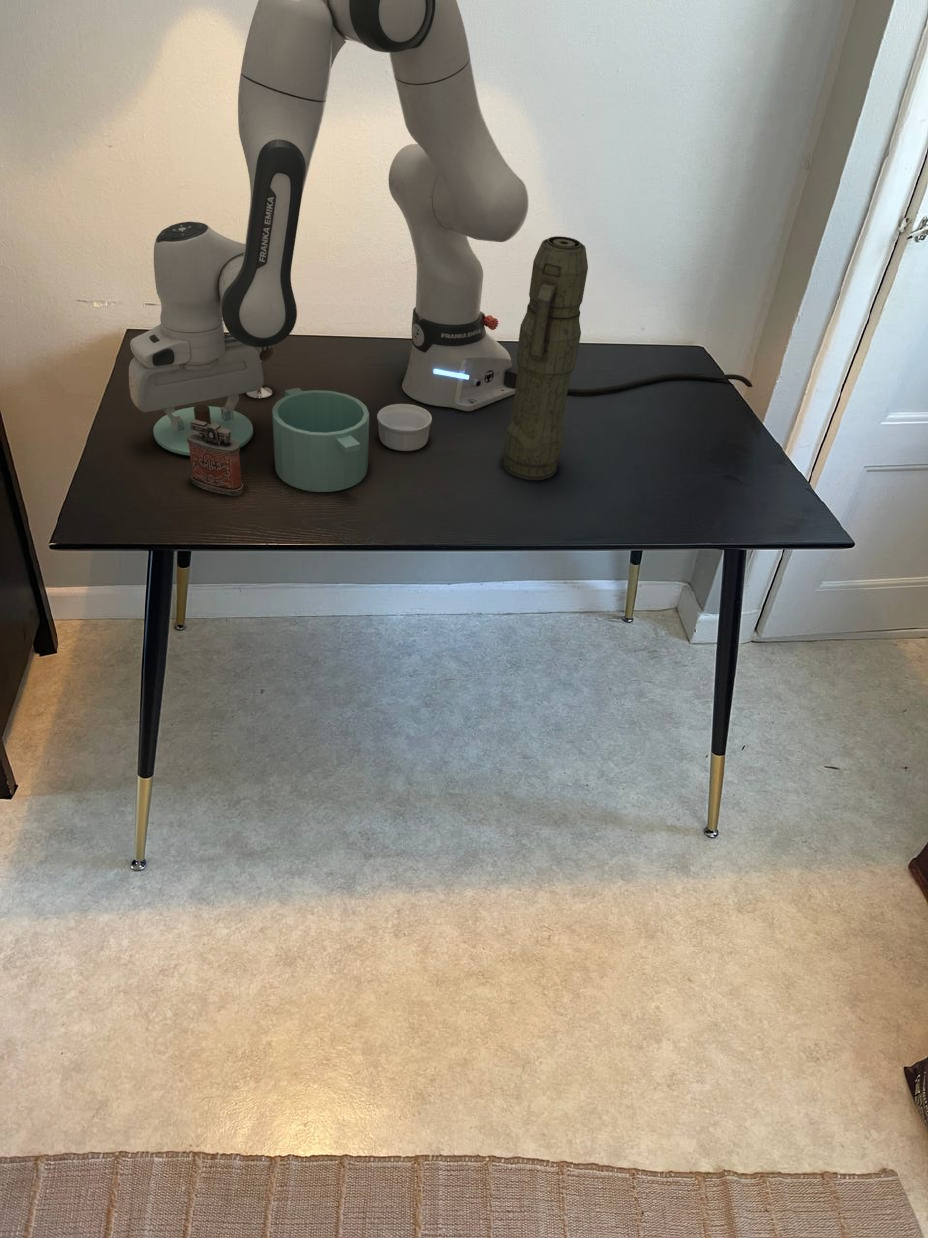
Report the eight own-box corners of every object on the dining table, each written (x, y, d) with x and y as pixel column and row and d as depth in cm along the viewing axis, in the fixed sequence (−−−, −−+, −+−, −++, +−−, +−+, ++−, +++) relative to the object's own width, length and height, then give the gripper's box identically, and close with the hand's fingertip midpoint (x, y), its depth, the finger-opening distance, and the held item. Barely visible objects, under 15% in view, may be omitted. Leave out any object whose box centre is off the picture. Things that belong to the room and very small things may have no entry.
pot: (332, 430, 148) (332, 376, 142) (392, 487, 136) (395, 430, 130) (252, 448, 141) (248, 392, 135) (309, 510, 130) (308, 451, 124)
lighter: (247, 487, 133) (243, 425, 126) (235, 498, 130) (230, 436, 124) (199, 473, 134) (192, 412, 128) (187, 484, 132) (179, 422, 126)
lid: (230, 405, 151) (227, 379, 148) (269, 446, 142) (267, 419, 139) (140, 424, 144) (136, 397, 141) (175, 468, 135) (171, 440, 132)
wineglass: (268, 402, 154) (265, 334, 146) (236, 396, 154) (231, 328, 147) (281, 388, 158) (278, 321, 150) (250, 382, 159) (245, 315, 151)
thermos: (493, 477, 141) (522, 248, 119) (511, 443, 150) (541, 224, 128) (548, 490, 140) (588, 260, 117) (563, 455, 149) (602, 235, 126)
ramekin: (417, 458, 144) (419, 434, 141) (367, 444, 145) (367, 420, 143) (438, 435, 150) (440, 411, 147) (390, 422, 152) (390, 398, 149)
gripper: (250, 321, 140) (256, 403, 149) (118, 342, 130) (132, 428, 139) (268, 337, 136) (272, 419, 145) (133, 359, 127) (146, 446, 135)
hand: (203, 424), depth 142 cm, fingers open, 7 cm apart
